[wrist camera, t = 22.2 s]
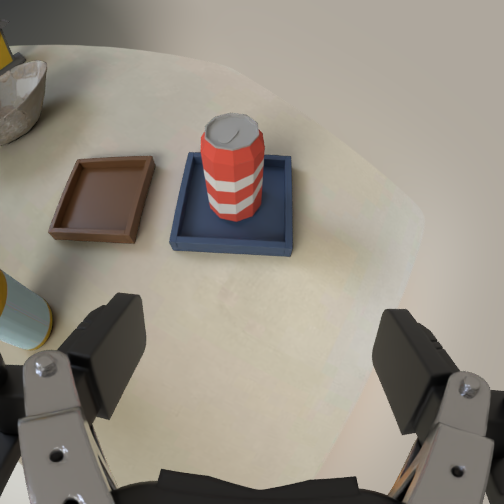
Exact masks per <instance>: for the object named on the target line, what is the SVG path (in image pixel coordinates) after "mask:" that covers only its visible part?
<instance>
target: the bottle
mask: <svg viewBox="0 0 504 504" xmlns="http://www.w3.org/2000/svg"><path fill="white" fill-rule="evenodd" d="M51 329H52V312H51V309H50V307H49V305H48V303H47V302H46V301H45V300H44V299H43V298H41V297H40V296H39V295H37V294H35V293H34V292H32V291H31V290H29V289H28V288H26V287H25V286H23V285H22V284H21V283H19V282H18V281H16V280H15V279H13V278H12V277H11V276H9V275H8V274H6V273H5V272H4V271H2V270H1V269H0V340H1V341H4V342H6V343H9V344H11V345H14V346H17V347H19V348H22V349H26V350H35V349H38V348H39V347H41V346H42V345H43V344H44V343H45V342H46V340H47V339H48V337H49V335H50V332H51Z"/></svg>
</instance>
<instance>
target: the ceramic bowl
mask: <svg viewBox="0 0 504 504" xmlns="http://www.w3.org/2000/svg"><path fill="white" fill-rule="evenodd" d="M46 72H47V63H46V62H44V61H37V60H36V61H31V62H27V63H24V64H21V65H18V66H16V67H14V68H12V69H11V72H10V71H7V72H6V73H4V74H3V75H1V76H0V146H2V145H5V144H7V143H9V142H11V141H13V140H15V139H17V138H19V137H20V136H22V135H24V134H26V133H27V132H28V131H29V130H30V129H31V128H32V127H33V125H34V124H35V123H36V122H37V120H38V119H39V116H40V114H41V109H42V104H43V98H44V94H45V82H46Z"/></svg>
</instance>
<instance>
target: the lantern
mask: <svg viewBox="0 0 504 504" xmlns="http://www.w3.org/2000/svg"><path fill="white" fill-rule="evenodd" d="M8 23H9V22H8V21H7V20H4V19H0V76H1V75H3V74H4V73H6V72H7V71H10V72H11V69H12V68H14V67H16V66H18V65H21V64H23V63H24V62H25V61H26V59H25V58H24V57H23V56H22V55H21V54H20V53H19V52H18V53H16V54H14V55H12V52H11V50H10V48H9V46H8V43H7V41H6V39H5V36H4V34H3V31H2V29H1V28H2V27H3V26H5V25H7V24H8Z"/></svg>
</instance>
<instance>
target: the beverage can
mask: <svg viewBox="0 0 504 504" xmlns="http://www.w3.org/2000/svg"><path fill="white" fill-rule="evenodd" d="M264 150H265V146H264V140H263V133H262V132H261V131H260V130H259V129H258V123H257V122H256V121H254V120H253V119H252V118H250V117H249V116H247V115H244V114H236V113H228V114H224V115H220V116H216V117H214V118H213V119H212V120H211V121H210V122H209V123H208V124H207V125H206V126H205V132H204V134H203V135H202V137H201V156H202V163H203V169H204V175H205V181H206V187H207V193H208V198H209V204H210V208H211V209H212V210H213V211H214V212H215V213H216V214H217V215H218V217H219V218H221V219H226V220H231V221H236V222H237V221H240V220H243V219H246V218H249V217H252V216H253V215H254V213H255V212H256V211H257V209H258V208H259V207H260V205H261V198H262V182H263V166H264Z"/></svg>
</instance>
